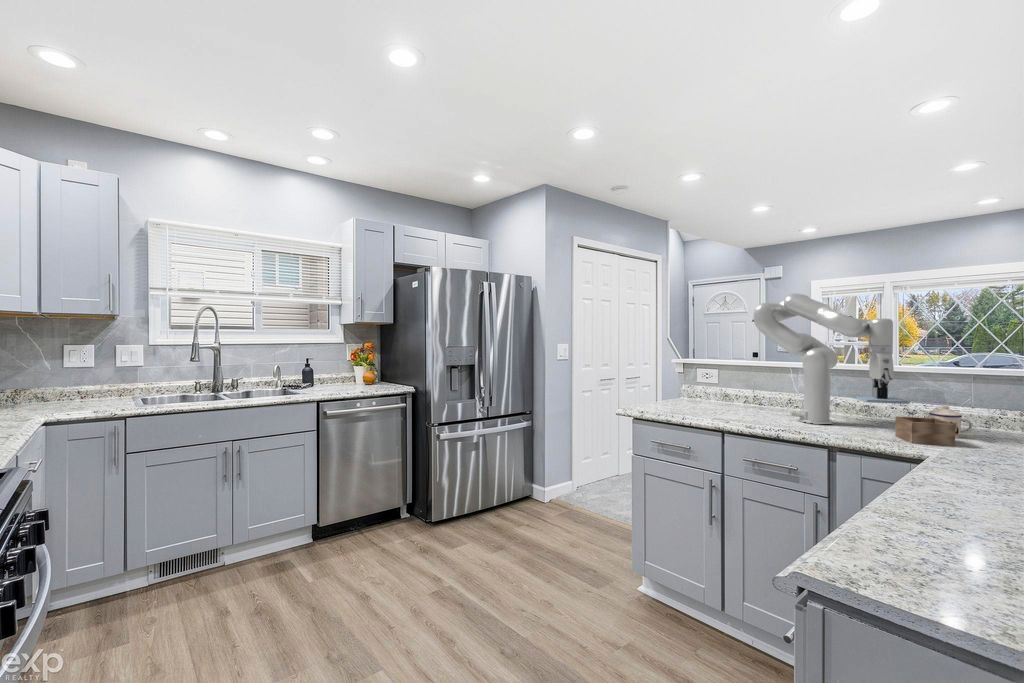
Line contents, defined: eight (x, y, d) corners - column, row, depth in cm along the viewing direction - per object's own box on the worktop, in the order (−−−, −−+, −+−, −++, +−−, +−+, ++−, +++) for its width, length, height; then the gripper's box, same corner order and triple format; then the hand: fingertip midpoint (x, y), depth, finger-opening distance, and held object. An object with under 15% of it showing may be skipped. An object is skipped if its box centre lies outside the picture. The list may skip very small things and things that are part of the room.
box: (911, 445, 163) (912, 422, 163) (895, 438, 174) (895, 416, 174) (954, 448, 159) (955, 424, 159) (935, 440, 171) (935, 418, 171)
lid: (866, 402, 183) (866, 389, 183) (853, 397, 196) (853, 385, 196) (909, 403, 179) (909, 390, 179) (892, 399, 192) (892, 386, 192)
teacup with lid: (930, 438, 175) (931, 406, 175) (925, 433, 183) (926, 403, 183) (975, 442, 169) (976, 409, 169) (968, 437, 177) (969, 406, 177)
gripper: (902, 351, 178) (901, 400, 178) (882, 349, 194) (882, 395, 194) (878, 350, 180) (877, 399, 181) (860, 349, 196) (860, 394, 196)
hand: (879, 397), depth 187 cm, fingers closed on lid, 3 cm apart
